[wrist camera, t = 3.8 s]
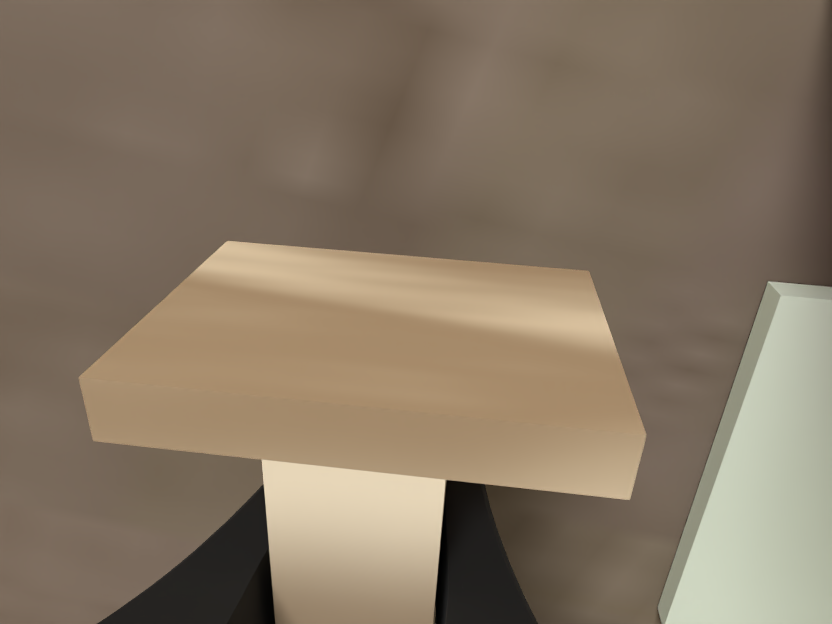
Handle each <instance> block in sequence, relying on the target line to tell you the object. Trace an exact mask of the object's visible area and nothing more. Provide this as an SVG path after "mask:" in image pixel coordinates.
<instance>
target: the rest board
mask: <svg viewBox="0 0 832 624" xmlns="http://www.w3.org/2000/svg"><path fill="white" fill-rule="evenodd" d="M658 611H659V615H660V619H661V623H662V624H832V287H826V286H815V285H804V284H792V283H781V282H769V281H768V283H767V286H766V289H765V292H764V295H763V298H762V301H761V304H760V306H759V309H758V312H757V315H756V318H755V321H754V324H753V327H752V330H751V333H750V336H749V339H748V342H747V345H746V348H745V351H744V354H743V357H742V360H741V363H740V365H739V368H738V371H737V374H736V377H735V380H734V383H733V386H732V389H731V392H730V395H729V398H728V401H727V404H726V407H725V410H724V413H723V416H722V419H721V422H720V424H719V427H718V430H717V433H716V436H715V439H714V442H713V445H712V448H711V451H710V454H709V457H708V460H707V463H706V466H705V469H704V472H703V475H702V478H701V481H700V483H699V486H698V489H697V492H696V495H695V498H694V501H693V504H692V507H691V510H690V513H689V516H688V519H687V522H686V525H685V528H684V531H683V534H682V537H681V540H680V543H679V545H678V548H677V551H676V554H675V557H674V560H673V563H672V566H671V569H670V572H669V575H668V578H667V581H666V584H665V587H664V590H663V593H662V596H661V599H660V602H659V604H658Z"/></svg>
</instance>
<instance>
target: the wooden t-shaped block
mask: <svg viewBox="0 0 832 624" xmlns="http://www.w3.org/2000/svg"><path fill="white" fill-rule="evenodd" d="M79 382H80V386H81V390H82V395H83V399H84V403H85V408H86V412H87V416H88V421H89V425H90V429H91V434H92V438H93V441H97V442H106V443H115V444H125V445H134V446H143V447H152V448H161V449H170V450H179V451H188V452H197V453H207V454H216V455H225V456H234V457H243V458H252V459H261V460H262V468H263V480H264V493H265V505H266V517H267V529H268V541H269V553H270V565H271V578H272V590H273V602H274V614H275V624H434V622H435V611H436V595H437V584H438V572H439V561H440V549H441V538H442V526H443V515H444V503H445V492H446V482H447V480H452V481H462V482H471V483H480V484H489V485H498V486H507V487H516V488H525V489H534V490H544V491H553V492H562V493H571V494H580V495H589V496H598V497H607V498H616V499H626V500H630V497H631V493H632V489H633V485H634V482H635V478H636V474H637V470H638V466H639V463H640V459H641V455H642V451H643V447H644V443H645V440H646V436H647V435H646V432H645V429H644V427H643V424H642V421H641V418H640V415H639V412H638V410H637V407H636V404H635V401H634V398H633V395H632V392H631V390H630V387H629V384H628V381H627V378H626V375H625V372H624V370H623V367H622V364H621V361H620V358H619V355H618V353H617V350H616V347H615V344H614V341H613V338H612V335H611V333H610V330H609V327H608V324H607V321H606V318H605V315H604V313H603V310H602V307H601V304H600V301H599V298H598V296H597V293H596V290H595V287H594V284H593V281H592V278H591V276H590V273H589V271H584V270H572V269H560V268H547V267H535V266H523V265H511V264H499V263H487V262H475V261H463V260H451V259H439V258H427V257H415V256H403V255H391V254H379V253H367V252H355V251H343V250H330V249H318V248H306V247H294V246H282V245H270V244H258V243H246V242H234V241H227V242H226V243H224V244H223V245H222V246H221V247H220V248H219V249H218V250H217V251H216V252H215V253H214V254H213V255H211V256H210V257H209V258H208V259H207V260H206V261H205V262H204V263H203V264H202V265H201V266H199V267H198V268H197V269H196V270H195V271H194V272H193V273H192V274H191V275H190V276H189V277H187V278H186V279H185V280H184V281H183V282H182V283H181V284H180V285H179V286H178V287H177V288H175V289H174V290H173V291H172V292H171V293H170V294H169V295H168V296H167V297H166V298H165V299H163V300H162V301H161V302H160V303H159V304H158V305H157V306H156V307H155V308H154V309H153V310H151V311H150V312H149V313H148V314H147V315H146V316H145V317H144V318H143V319H142V320H141V321H140V322H138V323H137V324H136V325H135V326H134V327H133V328H132V329H131V330H130V331H129V332H128V333H126V334H125V335H124V336H123V337H122V338H121V339H120V340H119V341H118V342H117V343H116V344H114V345H113V346H112V347H111V348H110V349H109V350H108V351H107V352H106V353H105V354H104V355H102V356H101V357H100V358H99V359H98V360H97V361H96V362H95V363H94V364H93V365H92V366H90V367H89V368H88V369H87V370H86V371H85V372H84V373H83V374H82V375H81V376H80V377H79Z"/></svg>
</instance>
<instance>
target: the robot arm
mask: <svg viewBox="0 0 832 624" xmlns="http://www.w3.org/2000/svg"><path fill="white" fill-rule="evenodd" d="M98 624H275V614H274V602H273V590H272V578H271V565H270V553H269V541H268V529H267V517H266V505H265V493H264V484H263V485H262V486H261V487H260V488H259V489H258V490H257V491H256V493H255V494H254V495H253V496H252V497H251V498H250V499H249V500H248V501H247V502H246V503H245V504H244V505H243V506H242V507H241V508H240V509H239V510H238V511H237V512H236V513H235V514H234V515H233V516H232V517H231V518H230V519H229V520H228V521H227V522H226V523H225V524H223V525H222V526H221V527H220V528H219V529H218V530H217V531H216V532H215V533H214V534H213V535H211V536H210V537H209V538H208V539H207V540H206V541H205V542H204V543H203V544H202V545H201V546H199V547H198V548H197V549H196V550H195V551H194V552H193V553H191V554H190V555H189V556H188V557H187V558H186V559H184V560H183V561H182V562H181V563H180V564H178V565H177V566H176V567H175V568H173V569H172V570H171V571H170V572H168V573H167V574H166V575H165V576H163V577H162V578H161V579H159V580H158V581H157V582H156V583H154V584H153V585H152V586H150V587H149V588H148V589H146V590H145V591H144V592H142V593H141V594H139V595H138V596H137V597H135V598H134V599H132V600H131V601H130V602H128V603H127V604H125V605H124V606H123V607H121V608H120V609H118V610H117V611H116V612H114V613H113V614H111V615H110V616H108V617H107V618H105V619H104V620H102V621H101V622H99V623H98ZM436 624H538V623H537V621H536V619H535V617H534V615H533V613H532V611H531V609H530V607H529V605H528V603H527V601H526V599H525V597H524V595H523V593H522V590H521V588H520V586H519V584H518V581H517V579H516V577H515V575H514V572H513V570H512V567H511V565H510V563H509V560H508V558H507V555H506V552H505V550H504V547H503V544H502V542H501V539H500V536H499V534H498V531H497V528H496V525H495V522H494V518H493V515H492V512H491V508H490V505H489V501H488V497H487V493H486V488H485V484H480V483H471V482H462V481H452V480H447V482H446V492H445V503H444V515H443V526H442V538H441V549H440V561H439V572H438V584H437V595H436Z"/></svg>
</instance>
